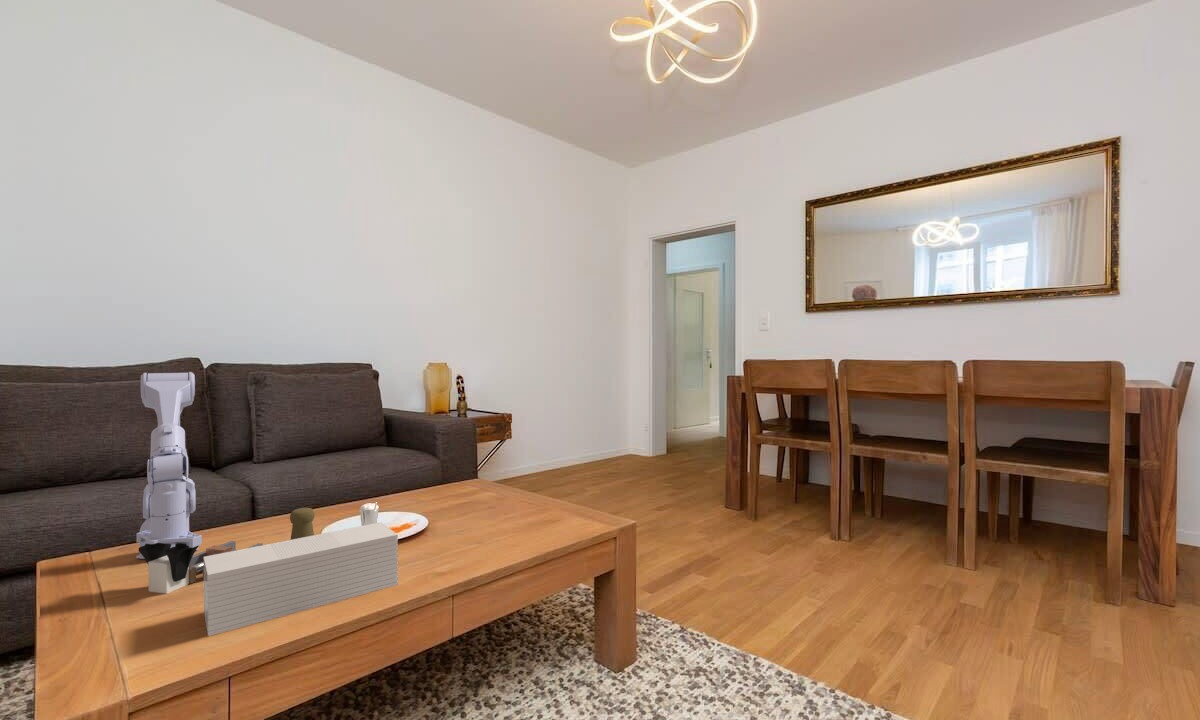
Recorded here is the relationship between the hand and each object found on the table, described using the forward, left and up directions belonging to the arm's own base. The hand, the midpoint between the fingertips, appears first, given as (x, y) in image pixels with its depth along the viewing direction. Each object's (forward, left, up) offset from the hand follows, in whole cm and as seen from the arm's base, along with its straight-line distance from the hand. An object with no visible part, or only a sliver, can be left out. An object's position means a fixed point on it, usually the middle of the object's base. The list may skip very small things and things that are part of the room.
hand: (169, 578), depth 111 cm
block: (0, 0, -2) cm, 2 cm away
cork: (+13, +22, -2) cm, 25 cm away
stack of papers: (+31, +2, -2) cm, 31 cm away
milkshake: (+22, +35, -2) cm, 41 cm away
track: (0, +12, -2) cm, 12 cm away
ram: (0, +7, -2) cm, 7 cm away
